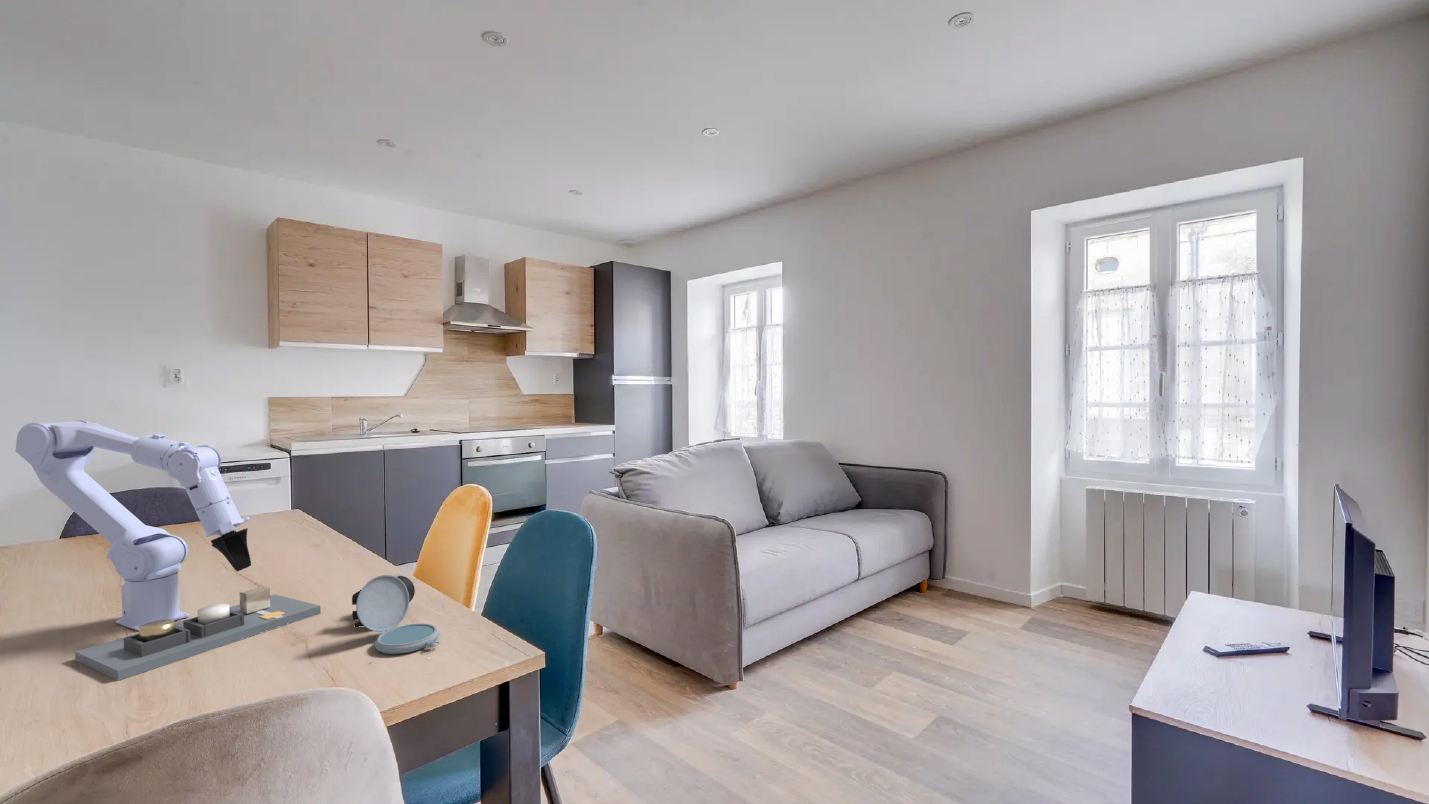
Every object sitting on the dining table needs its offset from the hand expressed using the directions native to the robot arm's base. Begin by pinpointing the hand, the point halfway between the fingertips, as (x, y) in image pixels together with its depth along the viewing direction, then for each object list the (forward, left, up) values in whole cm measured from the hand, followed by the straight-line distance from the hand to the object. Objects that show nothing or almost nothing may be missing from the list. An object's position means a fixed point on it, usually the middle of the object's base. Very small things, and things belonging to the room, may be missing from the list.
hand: (244, 568), depth 117 cm
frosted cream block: (+2, +1, -8) cm, 8 cm away
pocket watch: (+40, +6, -10) cm, 41 cm away
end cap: (+25, +12, -10) cm, 30 cm away
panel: (+3, -7, -10) cm, 13 cm away
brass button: (+5, -15, -6) cm, 17 cm away
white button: (+5, -7, -6) cm, 11 cm away
